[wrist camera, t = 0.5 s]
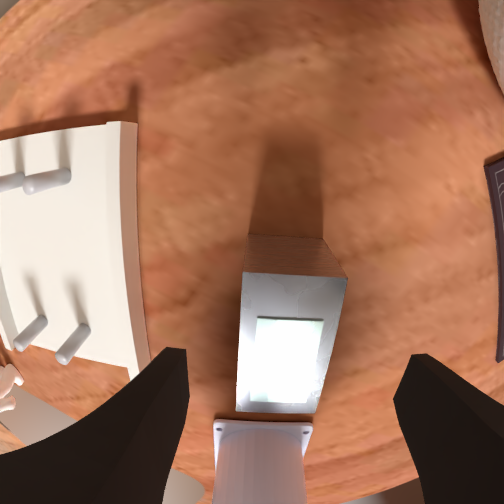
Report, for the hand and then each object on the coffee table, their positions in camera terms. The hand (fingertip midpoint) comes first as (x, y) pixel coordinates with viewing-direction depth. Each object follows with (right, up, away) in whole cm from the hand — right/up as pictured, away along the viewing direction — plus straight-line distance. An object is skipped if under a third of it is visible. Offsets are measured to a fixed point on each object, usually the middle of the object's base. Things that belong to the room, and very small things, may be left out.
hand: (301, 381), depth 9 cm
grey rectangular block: (0, +1, +10) cm, 10 cm away
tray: (-15, +4, +9) cm, 18 cm away
